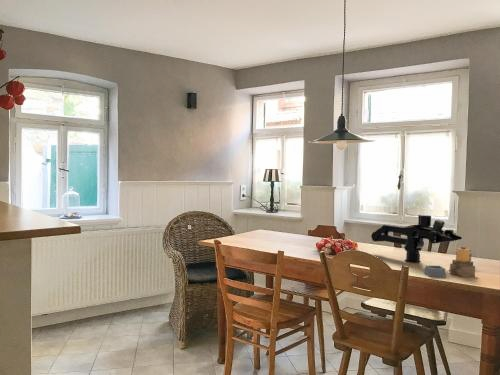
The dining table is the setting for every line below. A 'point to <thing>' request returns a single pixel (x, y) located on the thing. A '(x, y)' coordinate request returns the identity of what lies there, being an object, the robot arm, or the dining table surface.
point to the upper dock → (462, 268)
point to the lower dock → (435, 271)
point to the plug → (463, 254)
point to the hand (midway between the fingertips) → (456, 238)
